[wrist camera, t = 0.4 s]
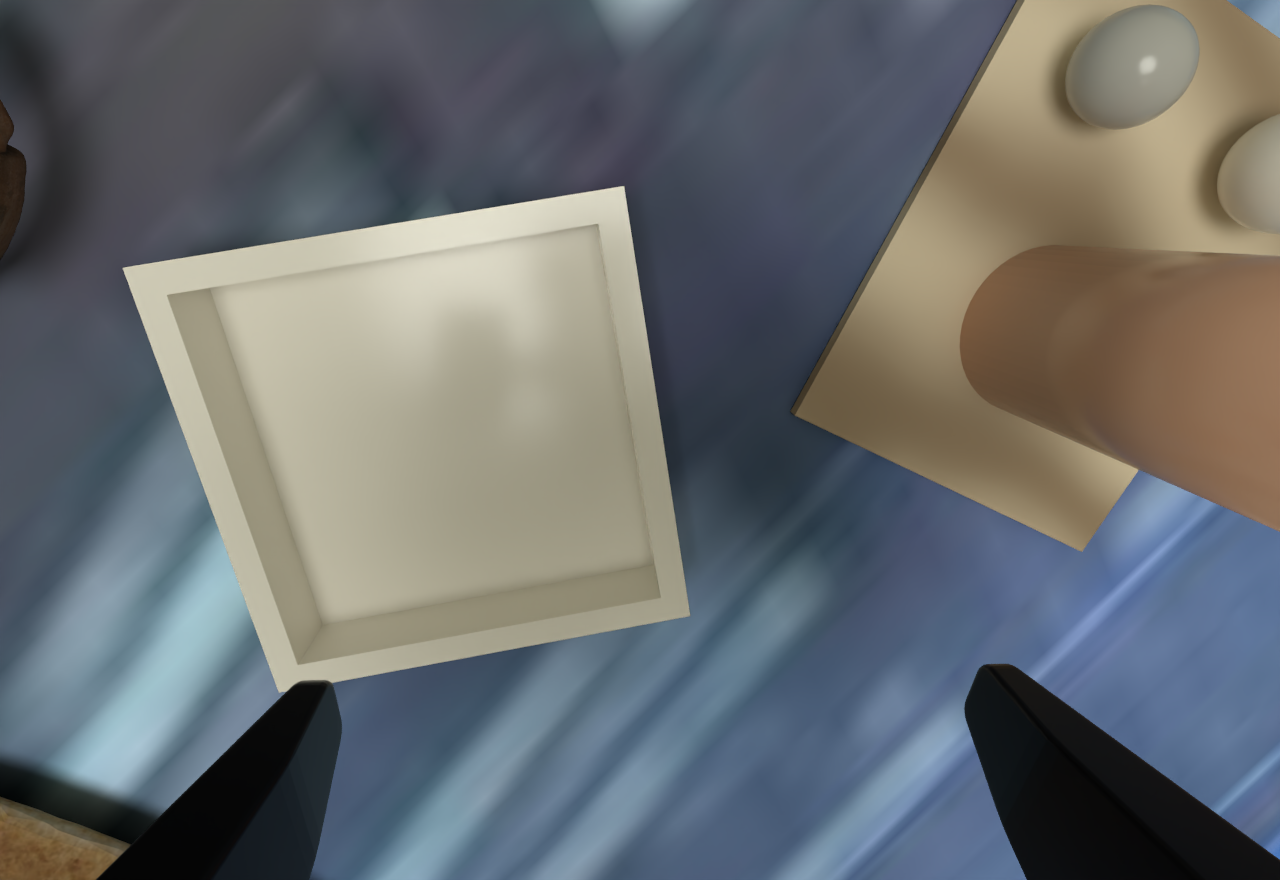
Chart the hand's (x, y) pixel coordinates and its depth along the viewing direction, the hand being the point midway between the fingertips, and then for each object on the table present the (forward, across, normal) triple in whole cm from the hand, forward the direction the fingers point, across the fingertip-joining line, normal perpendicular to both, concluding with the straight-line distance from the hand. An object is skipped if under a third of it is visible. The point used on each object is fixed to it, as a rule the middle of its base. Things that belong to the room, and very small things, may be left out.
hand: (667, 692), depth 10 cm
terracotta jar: (+14, -14, 0) cm, 19 cm away
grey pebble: (+15, -14, -7) cm, 22 cm away
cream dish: (+13, +5, +3) cm, 15 cm away
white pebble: (+15, -19, -5) cm, 25 cm away
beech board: (+15, -14, -2) cm, 21 cm away
